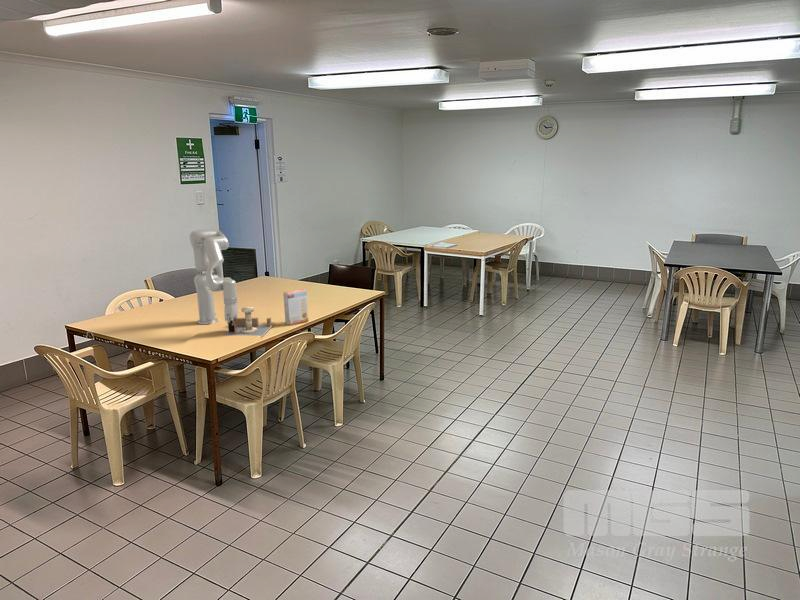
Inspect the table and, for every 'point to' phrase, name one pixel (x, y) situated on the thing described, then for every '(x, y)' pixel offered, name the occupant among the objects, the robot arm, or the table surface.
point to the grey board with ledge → (260, 329)
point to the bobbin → (248, 320)
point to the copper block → (234, 326)
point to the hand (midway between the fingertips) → (233, 330)
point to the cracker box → (295, 306)
